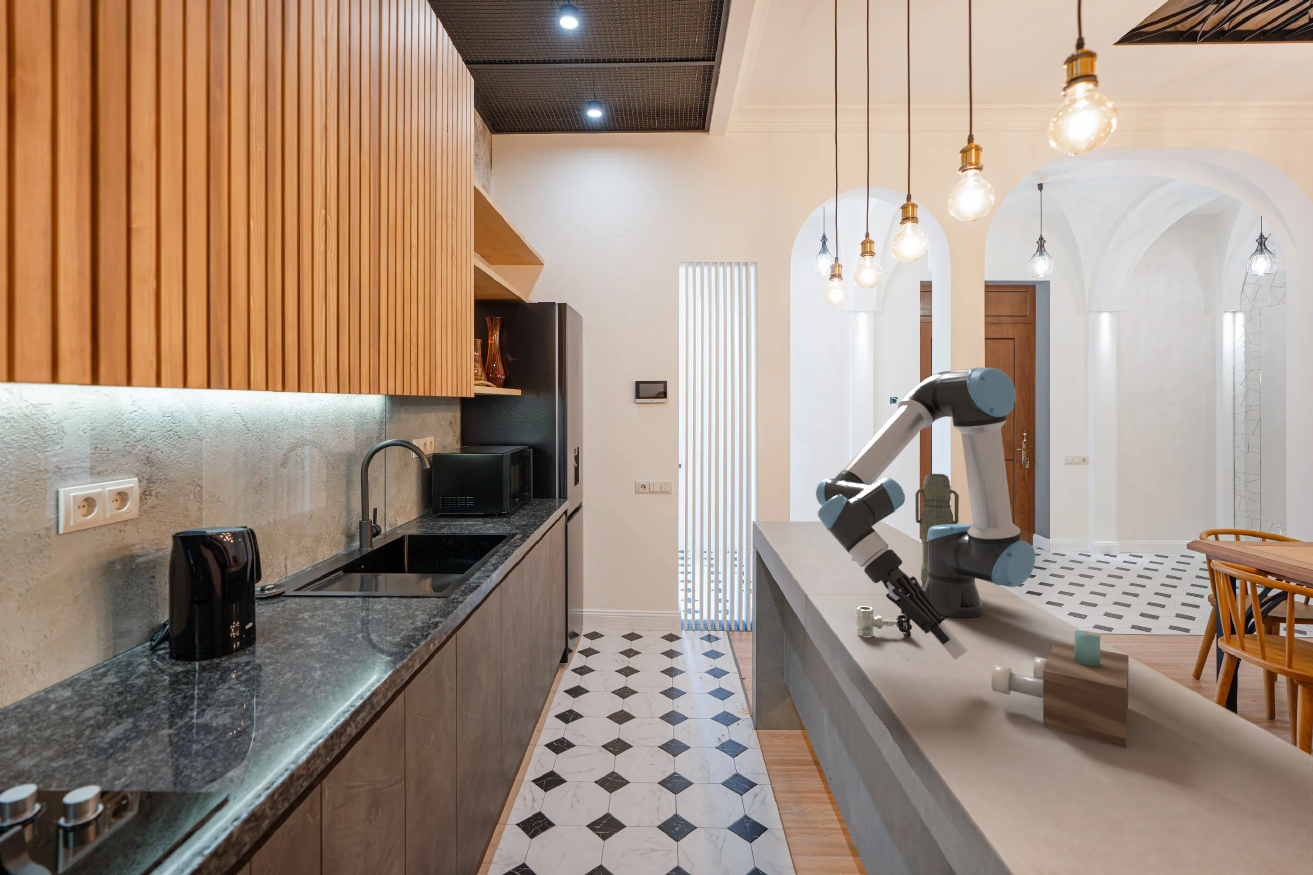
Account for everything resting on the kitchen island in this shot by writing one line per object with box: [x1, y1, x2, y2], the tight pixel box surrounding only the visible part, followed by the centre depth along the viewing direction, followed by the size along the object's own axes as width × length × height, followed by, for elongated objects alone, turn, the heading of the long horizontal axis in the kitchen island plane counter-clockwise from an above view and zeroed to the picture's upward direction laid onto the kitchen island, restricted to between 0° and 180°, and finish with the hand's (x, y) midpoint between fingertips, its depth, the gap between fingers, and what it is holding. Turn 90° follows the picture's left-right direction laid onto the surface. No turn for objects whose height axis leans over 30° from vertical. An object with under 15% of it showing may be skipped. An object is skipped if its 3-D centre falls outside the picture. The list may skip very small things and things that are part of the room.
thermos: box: [914, 473, 960, 590], centre depth 180 cm, size 9×12×35 cm
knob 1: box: [991, 664, 1043, 699], centre depth 104 cm, size 13×5×5 cm, turn 51°
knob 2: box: [1032, 656, 1048, 680], centre depth 108 cm, size 13×5×5 cm, turn 51°
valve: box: [855, 605, 913, 637], centre depth 143 cm, size 7×7×12 cm
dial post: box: [1073, 629, 1102, 667], centre depth 103 cm, size 4×4×6 cm
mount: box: [1042, 641, 1129, 749], centre depth 103 cm, size 16×11×10 cm, turn 141°
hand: (961, 654), depth 116 cm, fingers closed
